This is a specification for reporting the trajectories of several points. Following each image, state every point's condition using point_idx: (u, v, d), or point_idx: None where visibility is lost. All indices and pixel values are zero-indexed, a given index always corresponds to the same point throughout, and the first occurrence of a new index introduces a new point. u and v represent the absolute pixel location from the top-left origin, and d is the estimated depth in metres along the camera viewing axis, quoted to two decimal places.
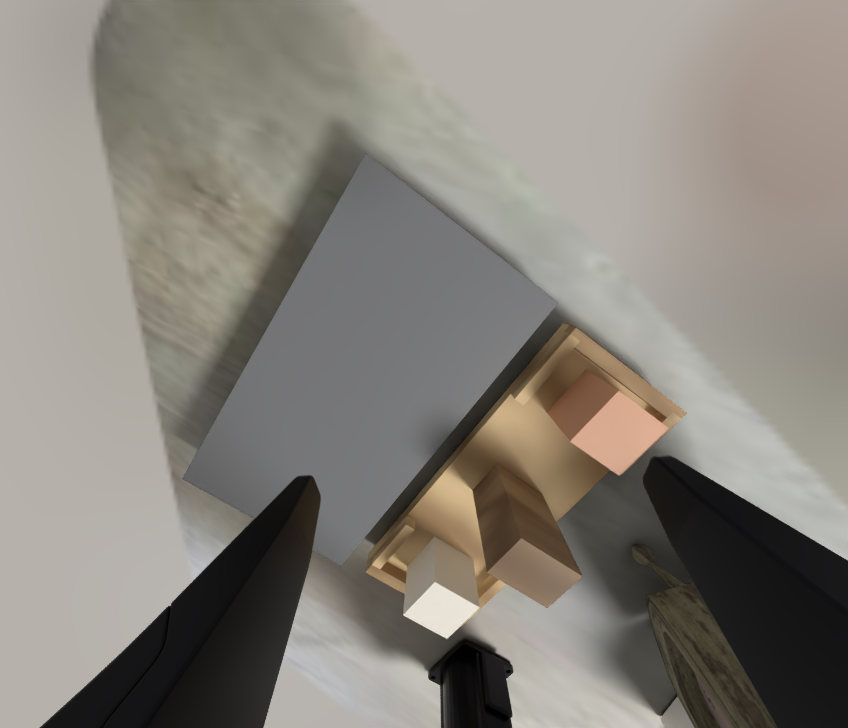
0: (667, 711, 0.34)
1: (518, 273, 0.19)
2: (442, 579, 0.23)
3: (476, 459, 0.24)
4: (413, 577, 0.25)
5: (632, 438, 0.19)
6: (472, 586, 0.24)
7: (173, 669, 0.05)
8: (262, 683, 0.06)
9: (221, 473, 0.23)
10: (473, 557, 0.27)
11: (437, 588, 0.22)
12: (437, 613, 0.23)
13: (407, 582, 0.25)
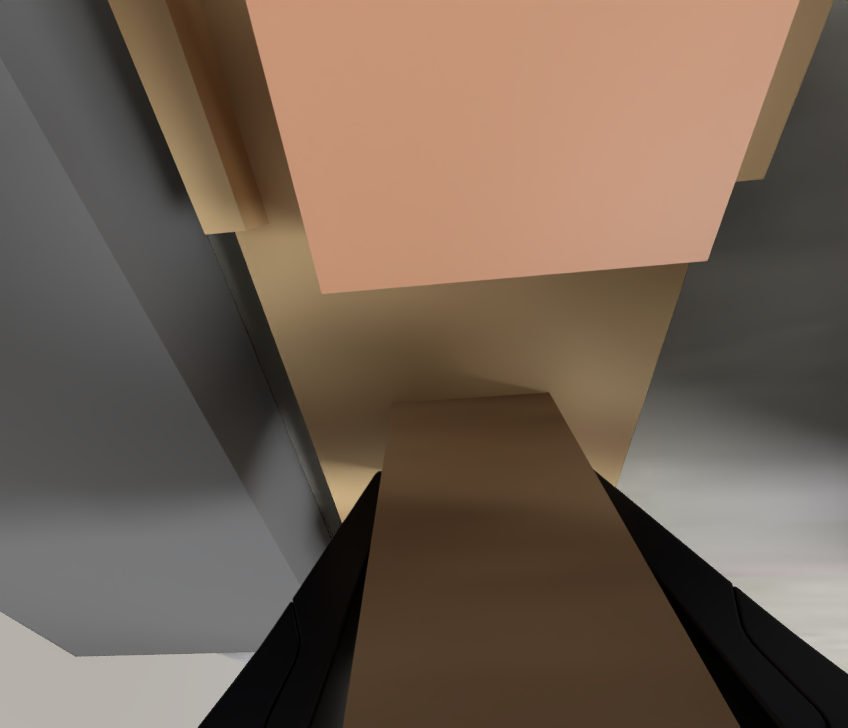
0: None
1: None
2: None
3: (348, 422, 0.10)
4: None
5: None
6: None
7: (315, 666, 0.05)
8: None
9: (88, 637, 0.15)
10: None
11: None
12: None
13: None
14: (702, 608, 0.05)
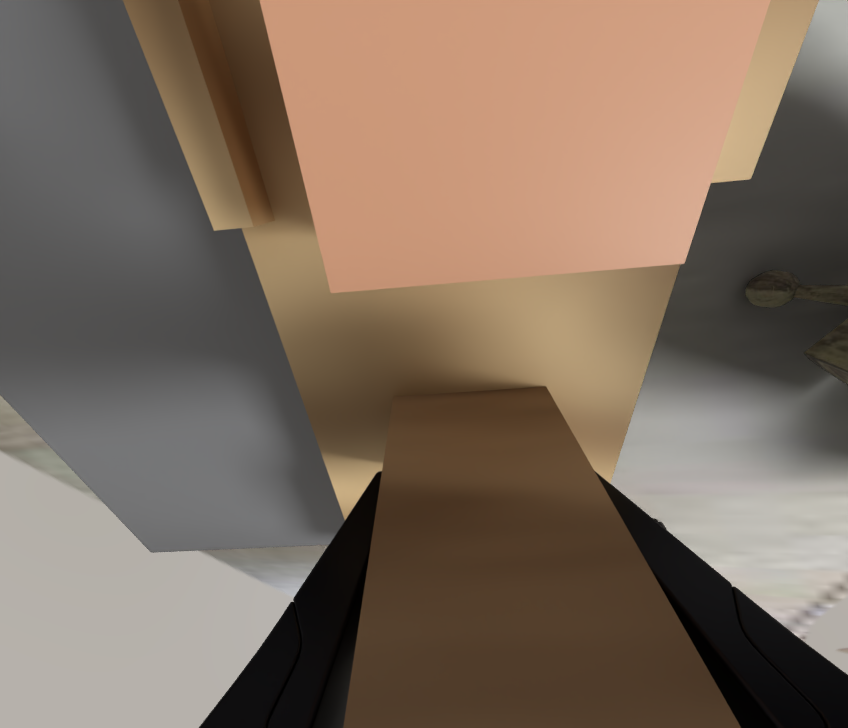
0: None
1: None
2: None
3: (350, 415, 0.10)
4: None
5: None
6: None
7: (316, 666, 0.05)
8: None
9: (166, 531, 0.20)
10: None
11: None
12: None
13: None
14: (702, 608, 0.05)
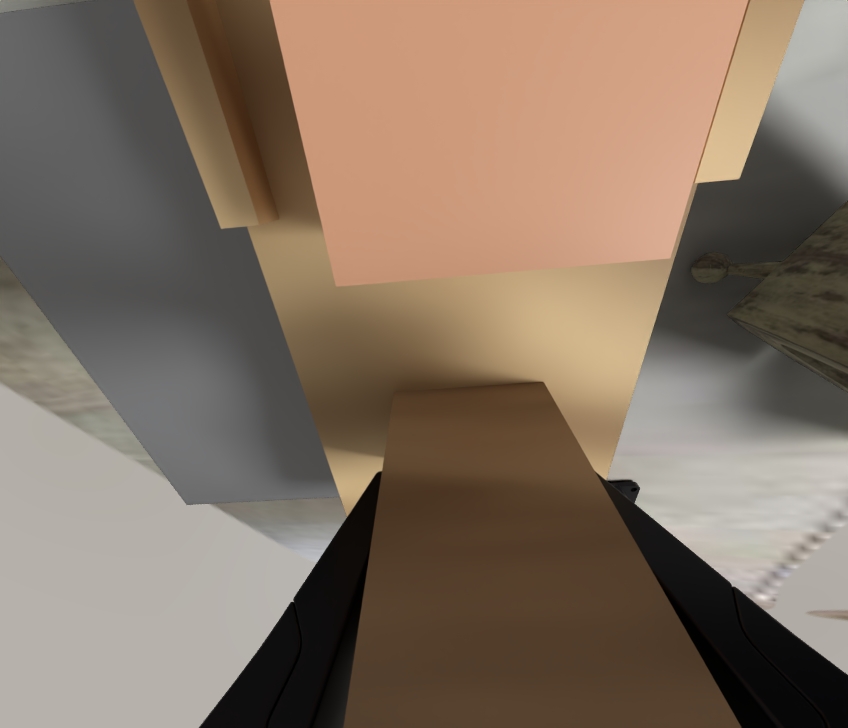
0: None
1: None
2: None
3: (352, 410, 0.10)
4: None
5: None
6: None
7: (316, 666, 0.05)
8: None
9: (201, 484, 0.23)
10: None
11: None
12: None
13: None
14: (701, 607, 0.05)
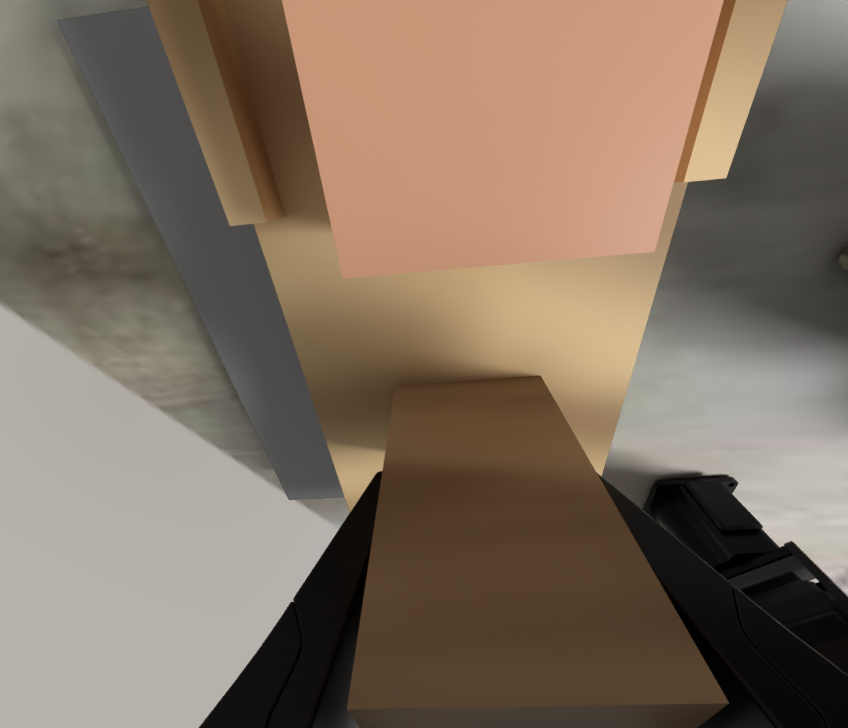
0: None
1: None
2: None
3: (354, 404, 0.10)
4: None
5: (590, 1, 0.03)
6: None
7: (316, 666, 0.05)
8: None
9: (309, 478, 0.23)
10: None
11: None
12: None
13: None
14: (701, 607, 0.05)
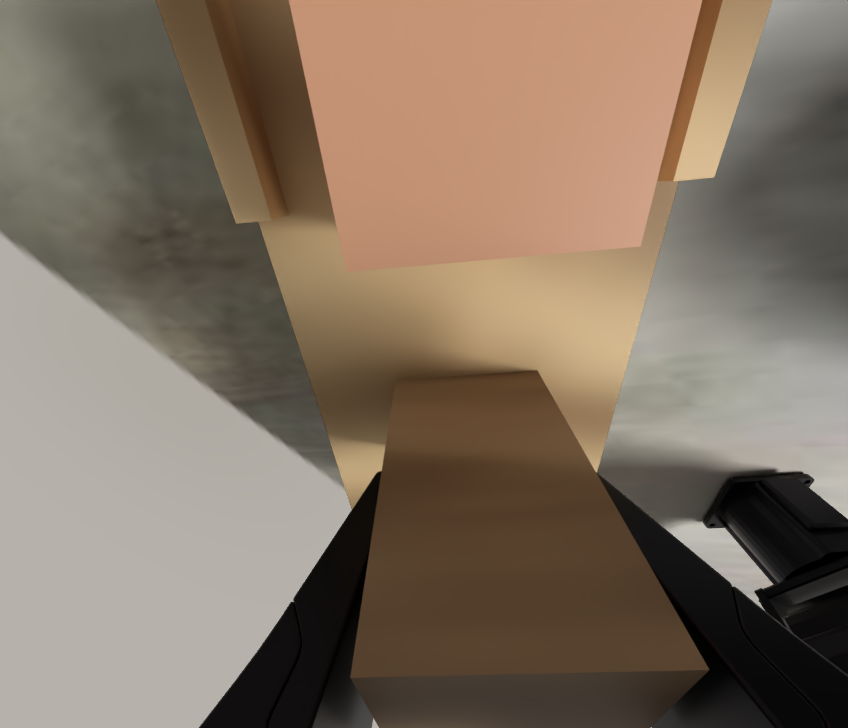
0: None
1: None
2: None
3: (355, 399, 0.11)
4: None
5: (576, 13, 0.03)
6: None
7: (316, 666, 0.05)
8: None
9: None
10: None
11: None
12: None
13: None
14: (702, 607, 0.05)
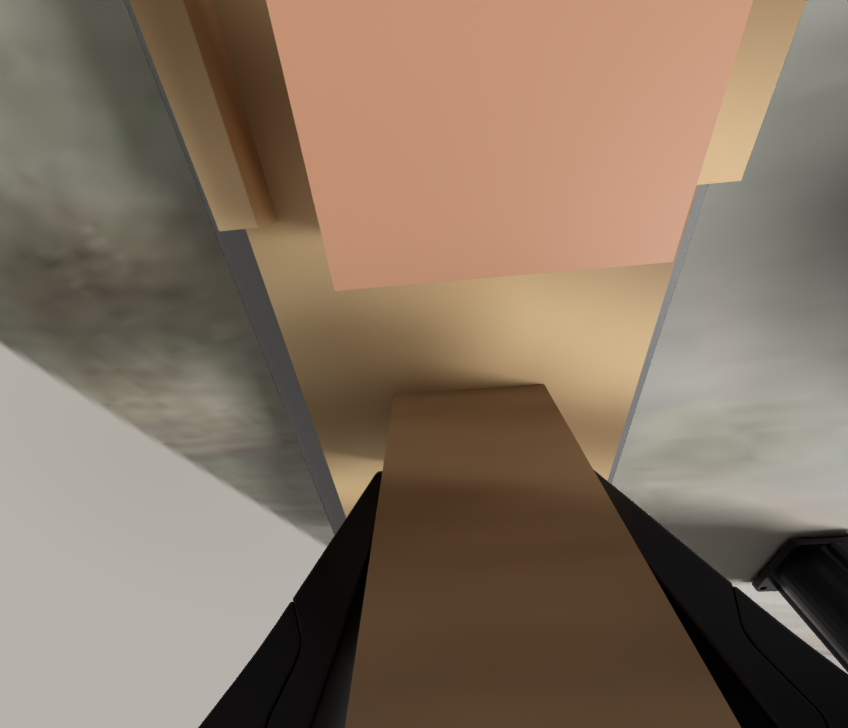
0: None
1: None
2: None
3: (351, 413, 0.10)
4: None
5: None
6: None
7: (315, 666, 0.05)
8: None
9: None
10: None
11: None
12: None
13: None
14: (702, 607, 0.05)
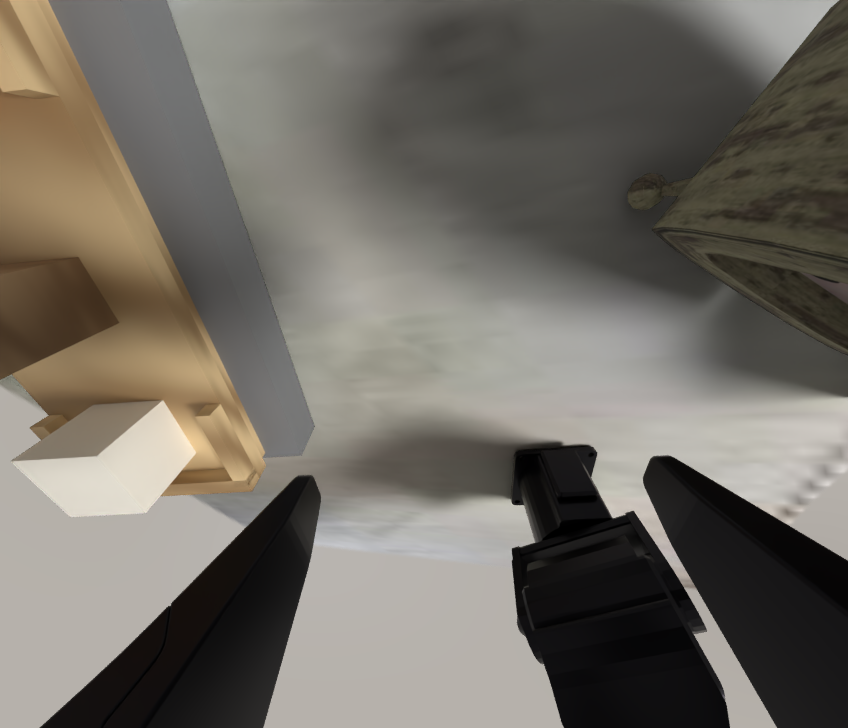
0: None
1: None
2: (36, 452, 0.14)
3: None
4: None
5: None
6: (112, 435, 0.15)
7: (173, 669, 0.05)
8: (262, 683, 0.06)
9: None
10: None
11: (27, 467, 0.14)
12: (84, 493, 0.15)
13: None
14: None
